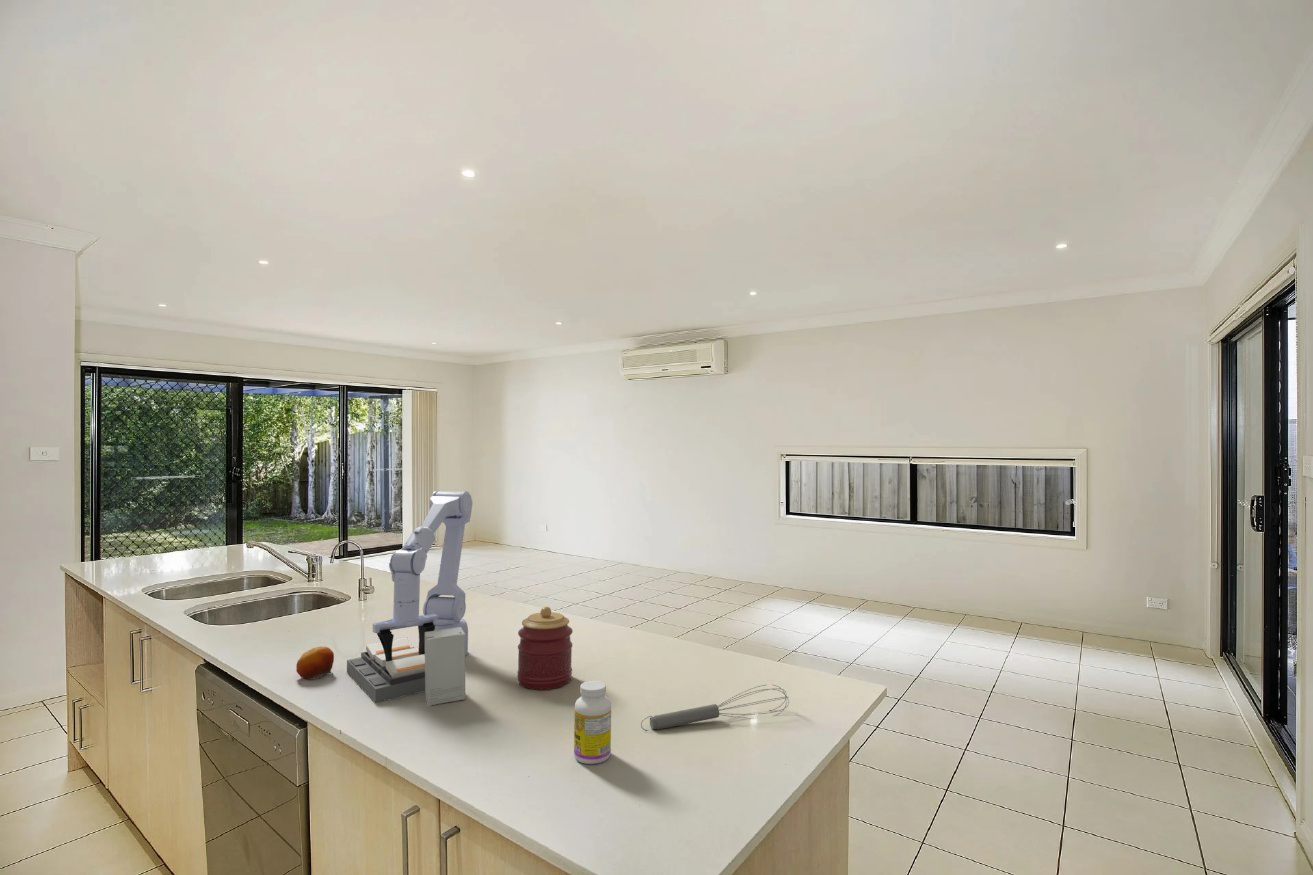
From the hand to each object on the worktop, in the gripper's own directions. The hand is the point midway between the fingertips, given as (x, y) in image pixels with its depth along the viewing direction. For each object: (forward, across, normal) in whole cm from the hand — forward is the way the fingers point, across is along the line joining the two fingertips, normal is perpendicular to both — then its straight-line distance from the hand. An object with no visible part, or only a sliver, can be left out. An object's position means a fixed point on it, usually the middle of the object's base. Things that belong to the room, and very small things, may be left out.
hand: (405, 658), depth 146 cm
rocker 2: (+1, 0, -4) cm, 4 cm away
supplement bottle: (+7, +14, -57) cm, 59 cm away
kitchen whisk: (+7, +43, -61) cm, 75 cm away
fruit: (+6, -15, +18) cm, 24 cm away
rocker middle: (+1, 0, +4) cm, 4 cm away
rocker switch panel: (+5, -1, +6) cm, 8 cm away
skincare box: (+6, +4, -15) cm, 17 cm away
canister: (+6, +27, -19) cm, 33 cm away
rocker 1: (+1, 0, +12) cm, 12 cm away
